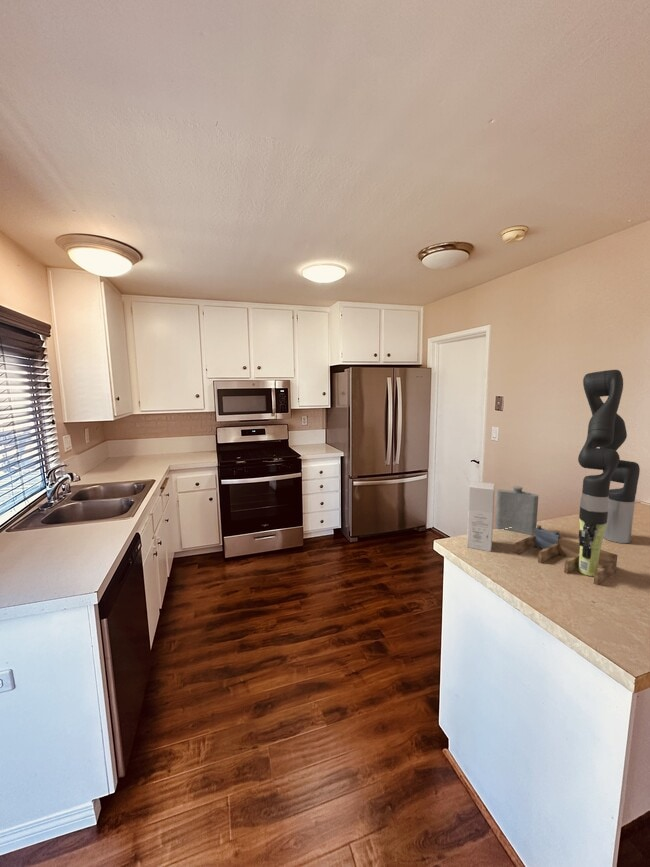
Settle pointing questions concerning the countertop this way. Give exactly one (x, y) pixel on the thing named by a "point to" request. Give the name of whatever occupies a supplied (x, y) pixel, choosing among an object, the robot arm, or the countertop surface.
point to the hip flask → (516, 510)
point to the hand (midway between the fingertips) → (589, 555)
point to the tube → (591, 564)
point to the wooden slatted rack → (566, 552)
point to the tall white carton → (480, 515)
